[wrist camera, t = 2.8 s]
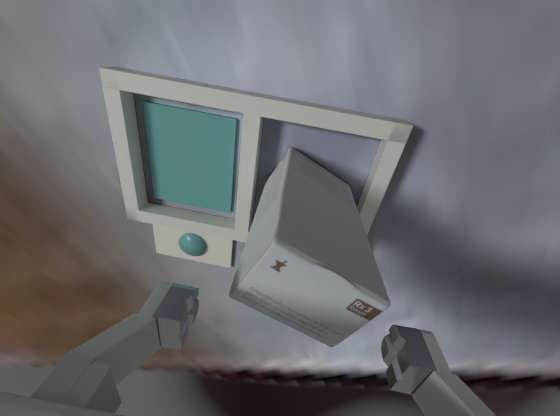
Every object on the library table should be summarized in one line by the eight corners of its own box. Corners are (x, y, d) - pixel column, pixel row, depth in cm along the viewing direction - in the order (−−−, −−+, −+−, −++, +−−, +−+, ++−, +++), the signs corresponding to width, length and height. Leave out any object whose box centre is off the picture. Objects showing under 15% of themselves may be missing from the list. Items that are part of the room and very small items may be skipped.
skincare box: (263, 185, 22) (217, 300, 11) (292, 141, 20) (267, 236, 9) (322, 221, 23) (327, 355, 13) (355, 183, 21) (395, 309, 10)
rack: (406, 120, 18) (413, 125, 17) (339, 287, 27) (340, 299, 26) (113, 66, 18) (98, 67, 17) (143, 248, 27) (135, 257, 26)
